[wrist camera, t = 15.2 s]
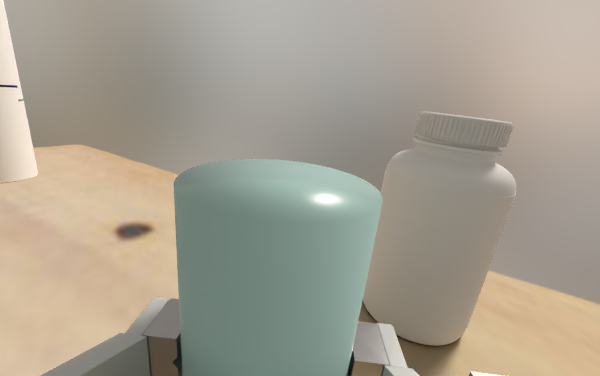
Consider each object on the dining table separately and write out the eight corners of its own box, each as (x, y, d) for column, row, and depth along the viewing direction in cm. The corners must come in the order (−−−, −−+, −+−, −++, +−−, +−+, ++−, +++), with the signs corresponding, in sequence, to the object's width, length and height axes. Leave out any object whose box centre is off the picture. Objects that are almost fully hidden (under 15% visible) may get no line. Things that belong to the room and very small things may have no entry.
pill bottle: (491, 353, 19) (583, 128, 14) (375, 347, 18) (430, 112, 14) (433, 279, 26) (481, 117, 22) (350, 274, 26) (380, 106, 21)
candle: (161, 589, 9) (119, 207, 5) (216, 416, 14) (217, 153, 9) (319, 611, 9) (413, 240, 5) (318, 429, 13) (363, 168, 9)
